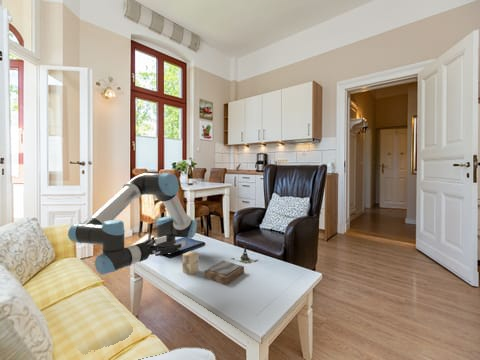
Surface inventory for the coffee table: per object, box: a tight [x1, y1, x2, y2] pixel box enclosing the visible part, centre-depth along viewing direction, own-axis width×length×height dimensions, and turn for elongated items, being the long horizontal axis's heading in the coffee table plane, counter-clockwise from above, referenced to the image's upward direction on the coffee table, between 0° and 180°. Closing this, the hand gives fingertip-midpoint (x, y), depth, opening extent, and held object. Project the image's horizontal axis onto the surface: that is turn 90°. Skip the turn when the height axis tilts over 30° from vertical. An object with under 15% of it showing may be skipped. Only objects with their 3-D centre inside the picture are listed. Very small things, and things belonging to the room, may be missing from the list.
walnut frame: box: [204, 260, 245, 286], centre depth 124 cm, size 14×16×4 cm
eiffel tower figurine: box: [230, 240, 258, 265], centre depth 146 cm, size 15×10×13 cm
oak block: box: [182, 250, 199, 276], centre depth 128 cm, size 6×6×10 cm
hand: (175, 240), depth 118 cm, fingers open, 13 cm apart
